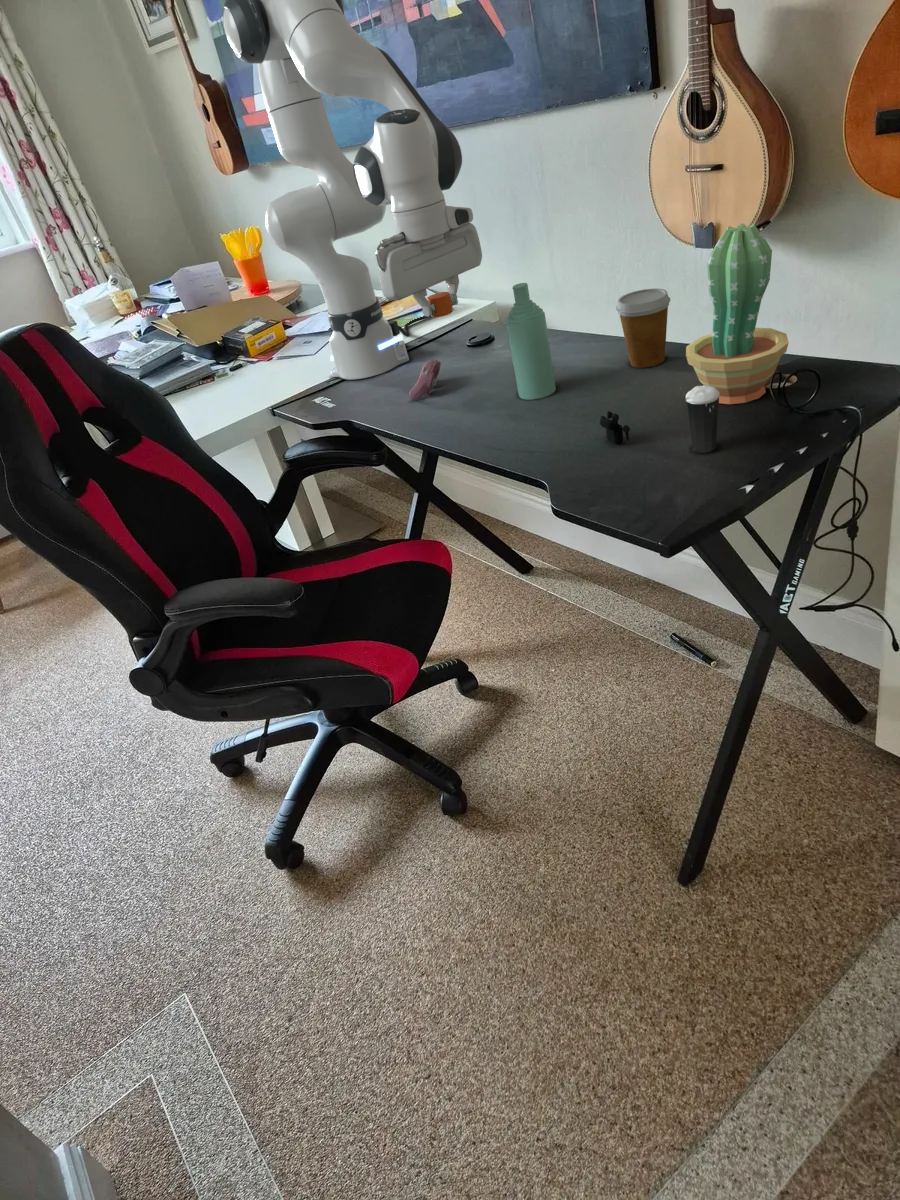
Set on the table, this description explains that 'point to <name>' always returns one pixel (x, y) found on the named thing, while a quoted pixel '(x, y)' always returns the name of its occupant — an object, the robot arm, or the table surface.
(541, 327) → the bottle
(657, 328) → the disposable coffee cup
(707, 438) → the glass of dark beer
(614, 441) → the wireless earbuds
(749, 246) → the potted cactus
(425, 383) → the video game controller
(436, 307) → the cap
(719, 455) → the table surface
